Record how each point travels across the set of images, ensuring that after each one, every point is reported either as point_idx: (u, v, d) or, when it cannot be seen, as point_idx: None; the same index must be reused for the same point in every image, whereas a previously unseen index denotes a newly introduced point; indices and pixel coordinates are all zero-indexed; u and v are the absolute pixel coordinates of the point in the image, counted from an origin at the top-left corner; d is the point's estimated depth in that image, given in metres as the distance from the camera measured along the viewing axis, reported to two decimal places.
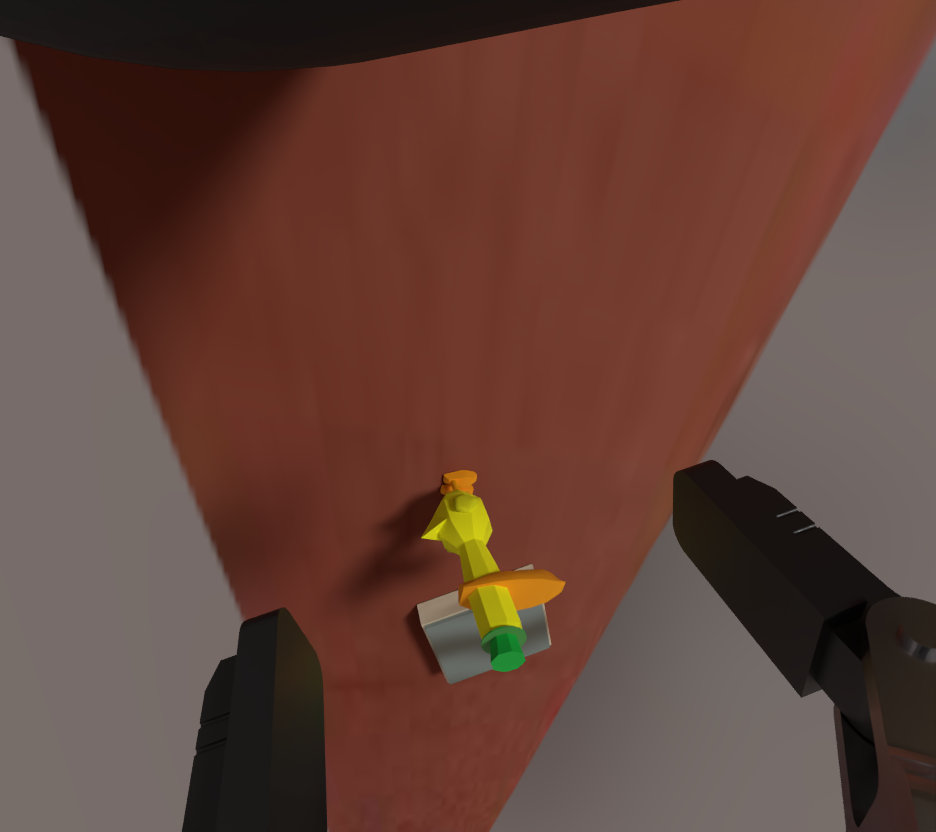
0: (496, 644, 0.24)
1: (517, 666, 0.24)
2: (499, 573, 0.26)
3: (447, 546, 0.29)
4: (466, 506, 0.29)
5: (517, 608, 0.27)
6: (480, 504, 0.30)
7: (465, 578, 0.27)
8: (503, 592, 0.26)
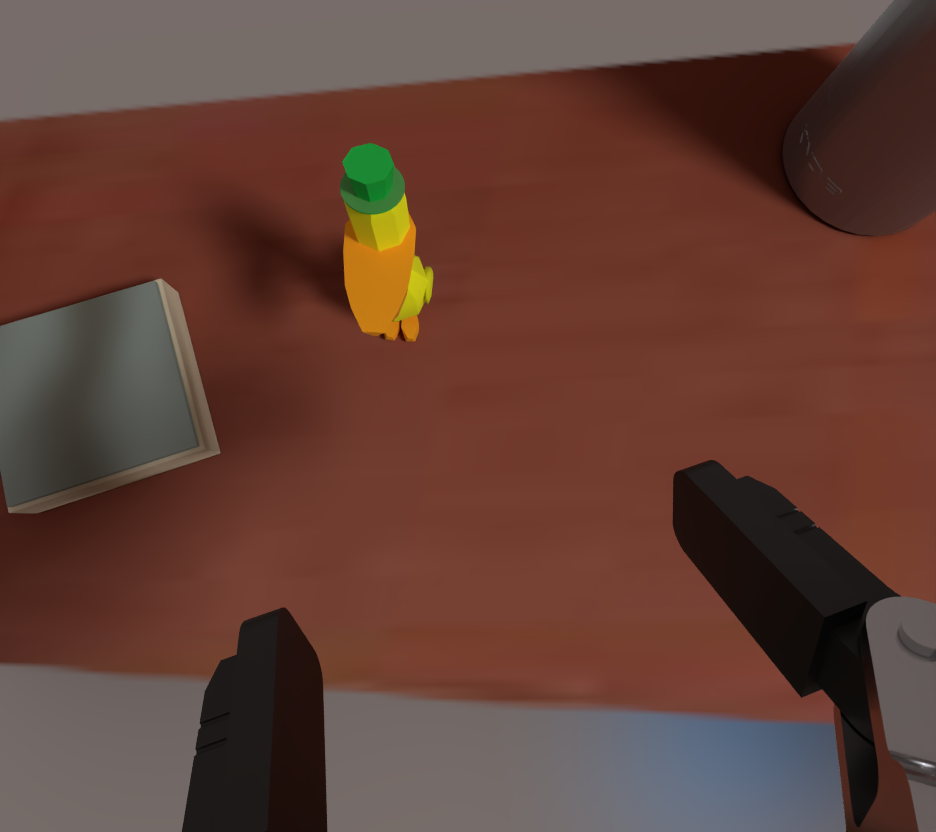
0: None
1: (348, 178, 0.17)
2: None
3: None
4: (432, 277, 0.25)
5: (349, 266, 0.20)
6: (419, 306, 0.25)
7: None
8: (404, 230, 0.20)
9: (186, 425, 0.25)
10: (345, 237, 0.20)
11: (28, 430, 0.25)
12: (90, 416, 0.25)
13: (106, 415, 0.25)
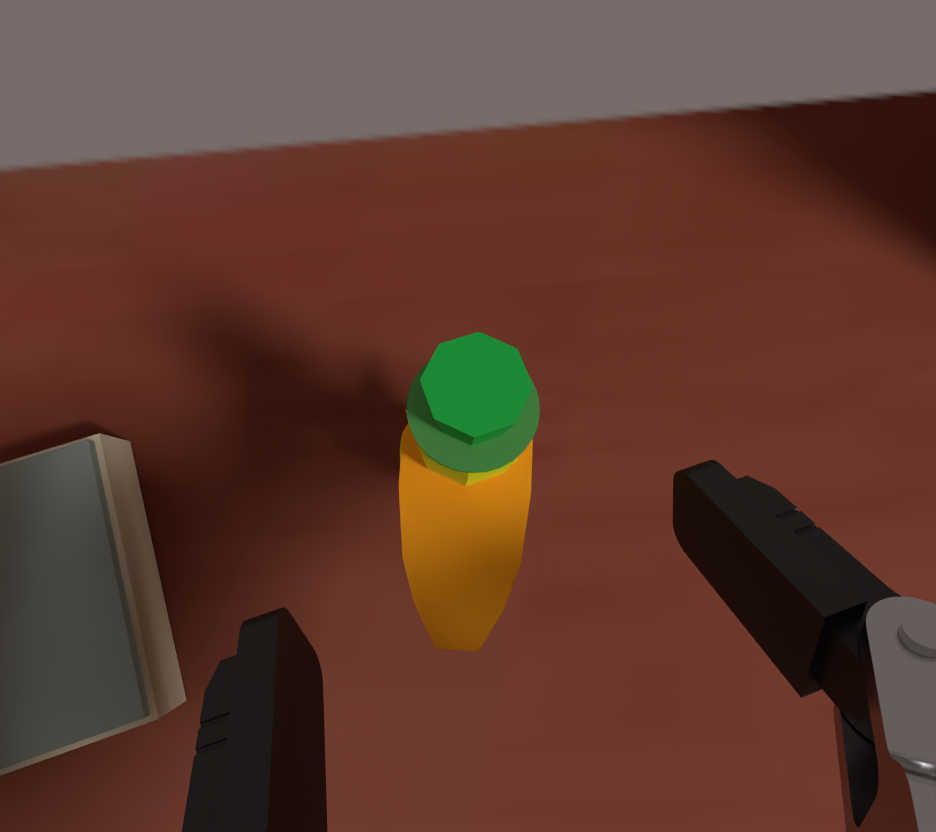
0: None
1: (434, 420, 0.07)
2: None
3: None
4: None
5: (410, 517, 0.10)
6: None
7: None
8: None
9: (129, 683, 0.16)
10: (402, 458, 0.11)
11: None
12: None
13: (2, 666, 0.16)
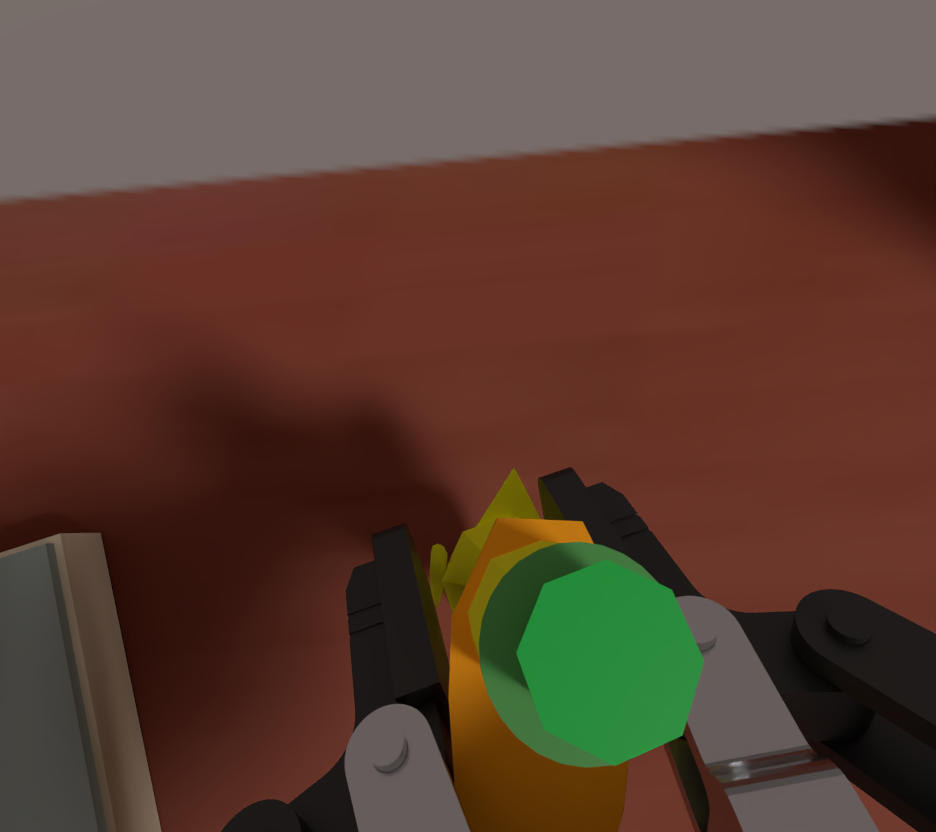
0: None
1: (544, 728, 0.04)
2: None
3: (485, 533, 0.12)
4: None
5: (465, 744, 0.07)
6: None
7: None
8: None
9: None
10: (453, 655, 0.08)
11: None
12: None
13: None
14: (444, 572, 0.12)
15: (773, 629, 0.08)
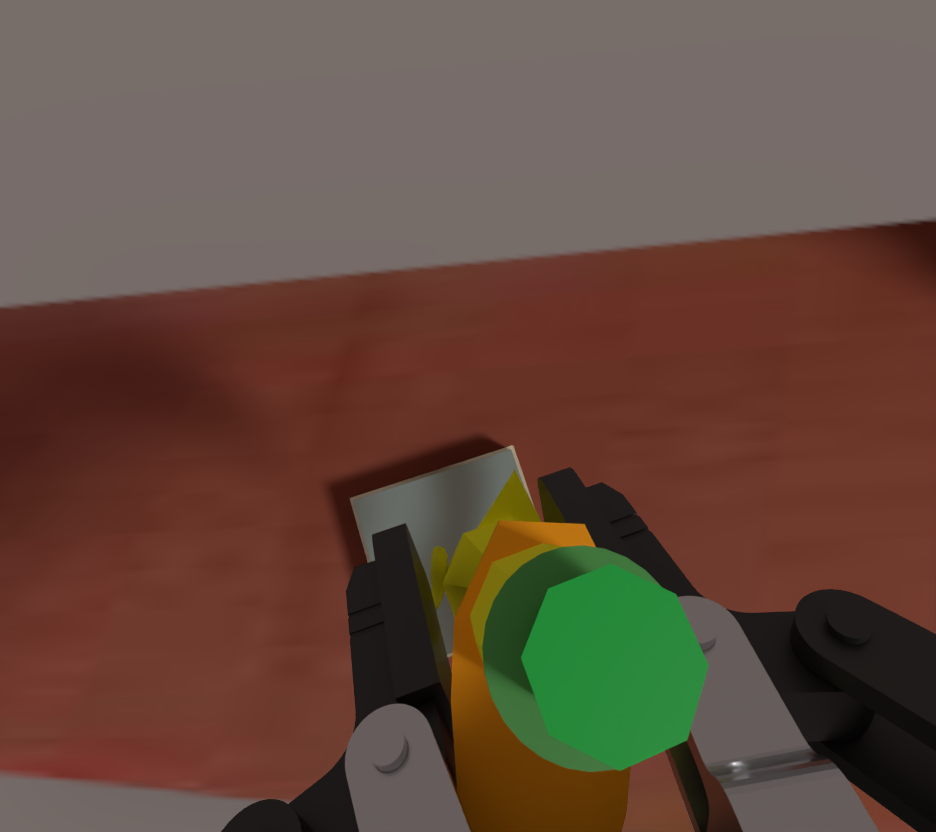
0: None
1: (549, 732, 0.04)
2: None
3: (486, 535, 0.12)
4: None
5: (467, 747, 0.07)
6: None
7: None
8: None
9: None
10: (455, 658, 0.08)
11: None
12: None
13: None
14: (445, 574, 0.12)
15: (773, 629, 0.08)
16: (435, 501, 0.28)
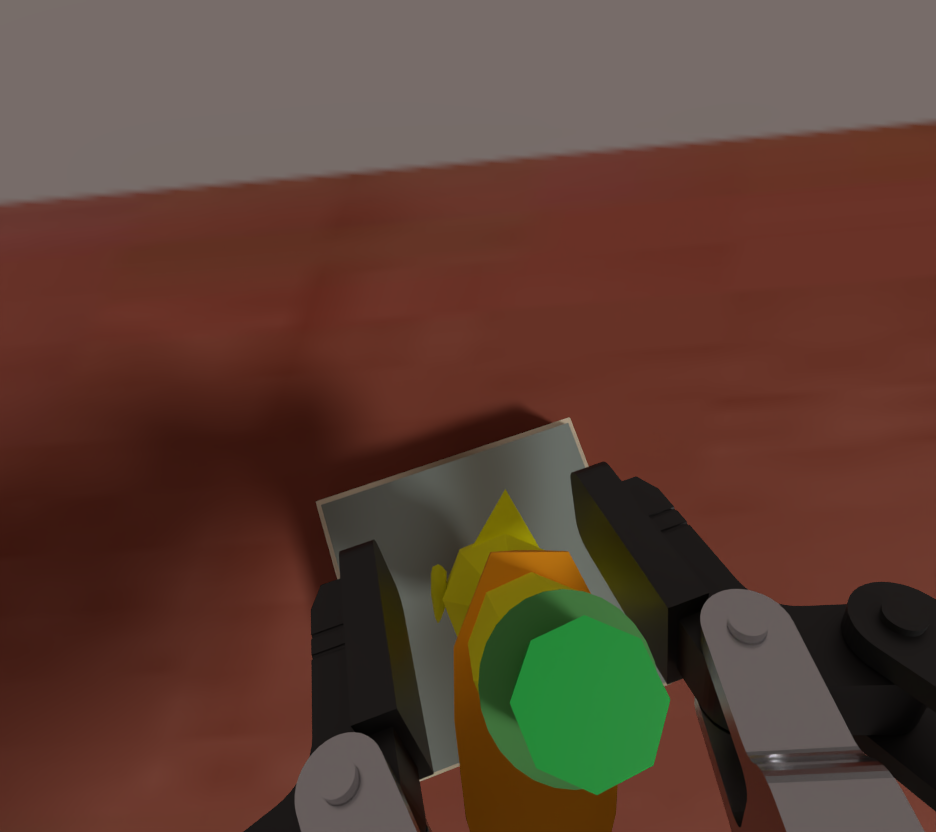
0: None
1: (535, 764, 0.05)
2: None
3: (481, 554, 0.13)
4: None
5: (471, 763, 0.08)
6: None
7: None
8: None
9: None
10: (456, 683, 0.08)
11: (416, 658, 0.17)
12: None
13: None
14: (444, 591, 0.13)
15: (822, 622, 0.08)
16: (451, 505, 0.17)
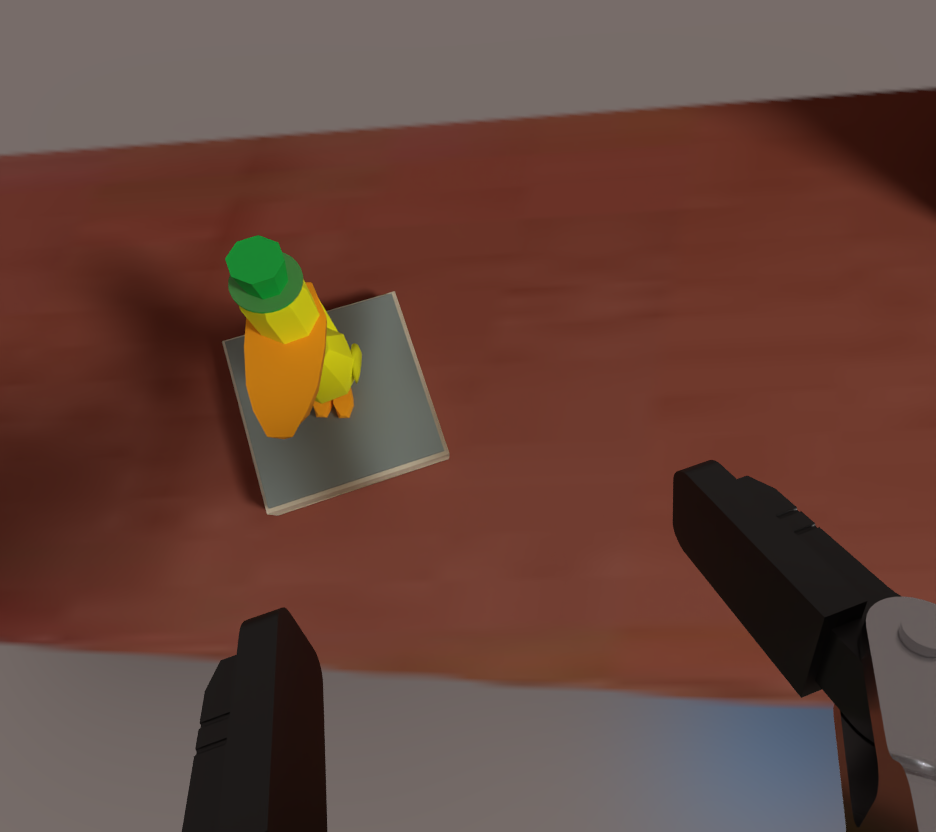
0: None
1: (232, 277, 0.15)
2: (325, 332, 0.18)
3: None
4: (359, 355, 0.23)
5: (250, 363, 0.17)
6: (347, 386, 0.23)
7: None
8: (311, 321, 0.18)
9: (432, 431, 0.26)
10: (246, 330, 0.18)
11: None
12: (341, 421, 0.26)
13: (356, 420, 0.26)
14: None
15: None
16: None
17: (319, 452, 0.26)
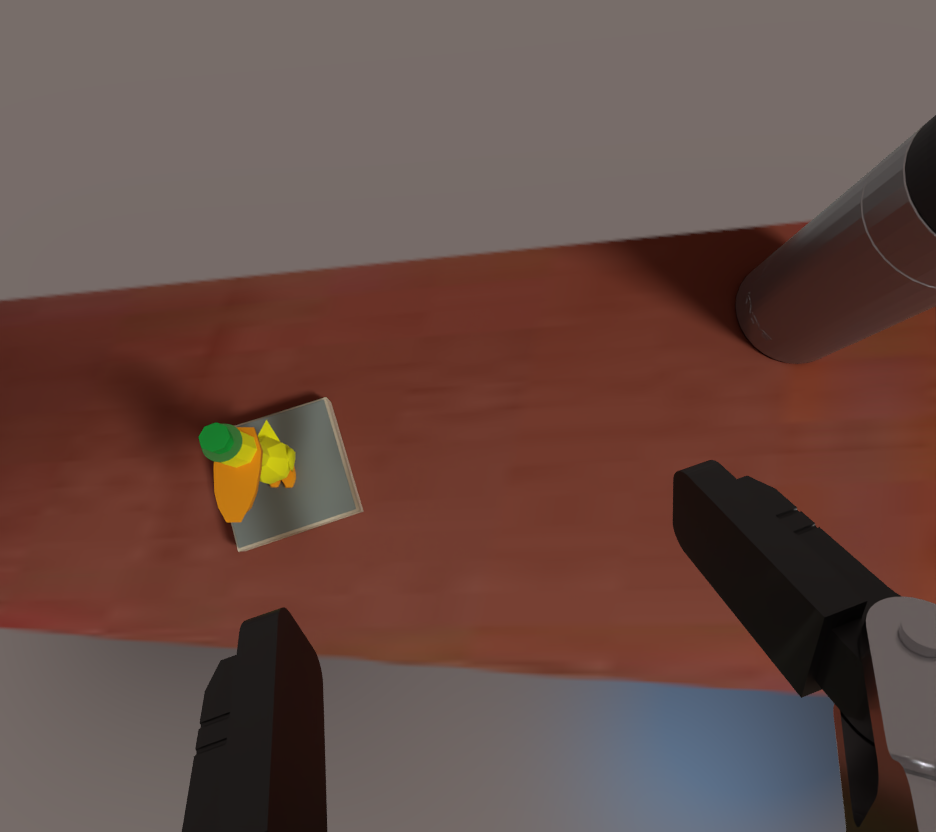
0: None
1: (202, 448, 0.28)
2: (262, 457, 0.31)
3: None
4: (292, 455, 0.36)
5: (217, 479, 0.31)
6: (285, 474, 0.36)
7: None
8: (251, 455, 0.31)
9: (348, 495, 0.39)
10: None
11: None
12: (287, 489, 0.39)
13: (297, 489, 0.39)
14: None
15: None
16: None
17: (272, 510, 0.39)
